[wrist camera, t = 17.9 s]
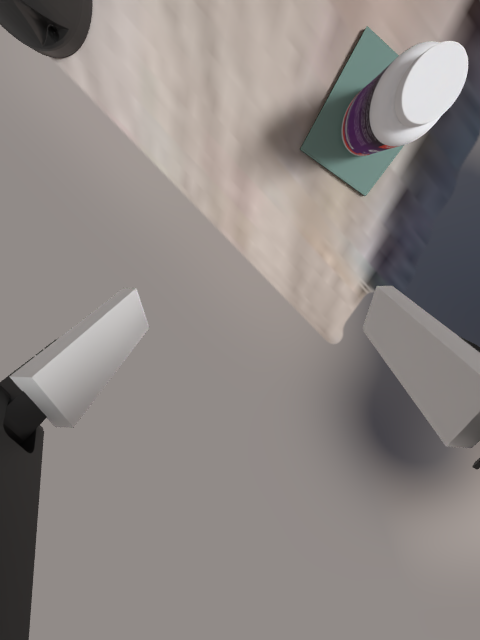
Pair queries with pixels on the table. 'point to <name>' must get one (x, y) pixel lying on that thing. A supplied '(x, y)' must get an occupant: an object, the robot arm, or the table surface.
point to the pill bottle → (405, 98)
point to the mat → (327, 128)
